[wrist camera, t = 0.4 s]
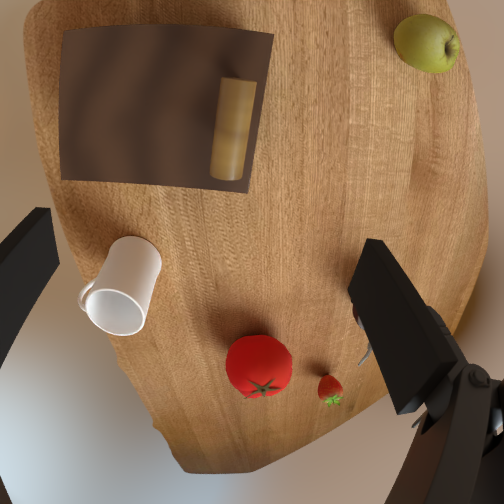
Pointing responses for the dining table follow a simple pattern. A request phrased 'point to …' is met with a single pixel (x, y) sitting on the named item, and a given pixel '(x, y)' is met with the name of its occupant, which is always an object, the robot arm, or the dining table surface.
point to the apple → (426, 43)
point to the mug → (123, 287)
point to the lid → (162, 104)
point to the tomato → (258, 366)
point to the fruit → (330, 390)
